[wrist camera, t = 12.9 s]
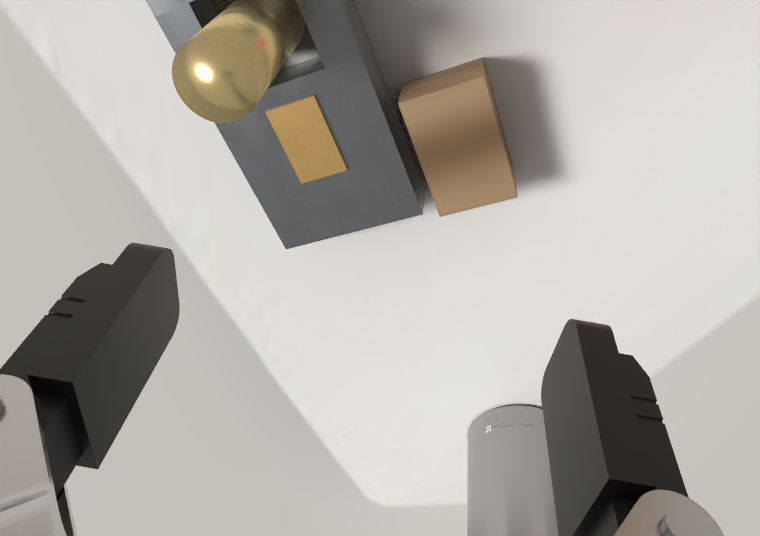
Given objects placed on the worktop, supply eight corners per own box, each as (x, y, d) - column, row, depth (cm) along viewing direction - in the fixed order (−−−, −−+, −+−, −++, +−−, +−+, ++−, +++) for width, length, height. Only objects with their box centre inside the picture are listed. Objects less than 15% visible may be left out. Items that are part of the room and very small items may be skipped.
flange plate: (425, 190, 41) (422, 215, 38) (295, 225, 44) (285, 250, 41) (308, -120, 30) (294, -113, 28) (150, -46, 33) (124, -34, 31)
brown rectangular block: (514, 173, 39) (517, 197, 37) (441, 192, 41) (439, 216, 38) (482, 57, 35) (483, 76, 32) (402, 84, 36) (398, 103, 34)
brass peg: (316, 41, 35) (273, 108, 28) (258, 62, 37) (201, 133, 29) (286, -29, 33) (231, 23, 25) (226, -3, 34) (154, 54, 27)
